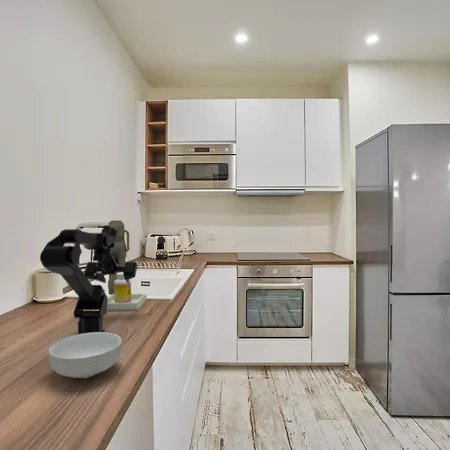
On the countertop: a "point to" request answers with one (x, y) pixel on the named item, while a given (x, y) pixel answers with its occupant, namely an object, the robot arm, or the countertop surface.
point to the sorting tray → (135, 304)
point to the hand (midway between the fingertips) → (116, 281)
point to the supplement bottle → (122, 289)
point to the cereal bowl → (85, 354)
